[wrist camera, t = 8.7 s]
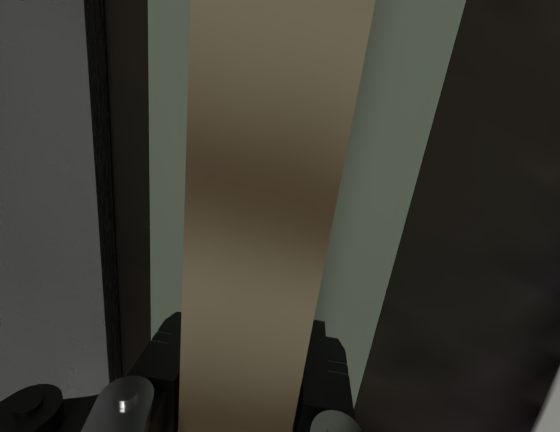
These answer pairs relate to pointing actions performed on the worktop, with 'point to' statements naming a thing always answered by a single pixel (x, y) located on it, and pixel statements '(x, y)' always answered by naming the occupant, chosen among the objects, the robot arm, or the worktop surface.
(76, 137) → the hook stand
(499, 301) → the worktop surface
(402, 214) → the mat
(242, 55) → the rail
